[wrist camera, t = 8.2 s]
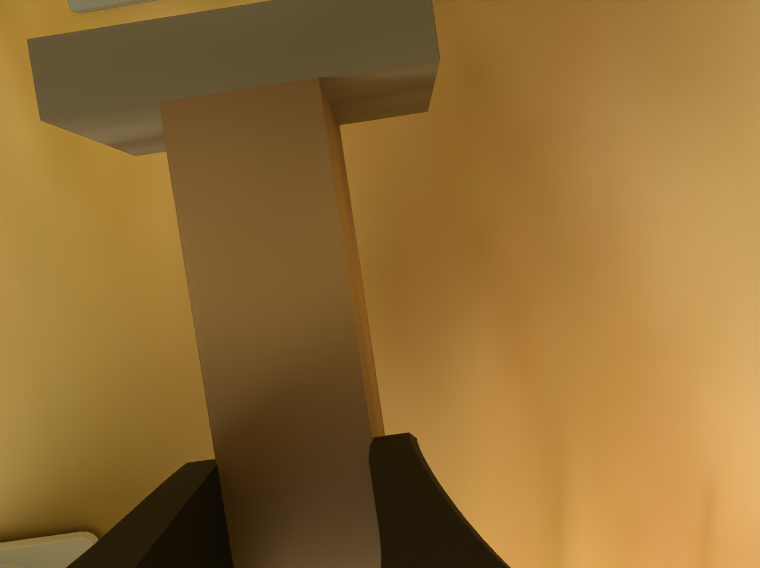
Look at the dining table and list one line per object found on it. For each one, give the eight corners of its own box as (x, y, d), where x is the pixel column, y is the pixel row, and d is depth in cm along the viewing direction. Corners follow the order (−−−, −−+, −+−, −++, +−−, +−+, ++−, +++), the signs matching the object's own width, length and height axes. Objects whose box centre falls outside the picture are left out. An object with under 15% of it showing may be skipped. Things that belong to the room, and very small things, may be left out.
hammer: (508, 685, 13) (549, 838, 10) (227, 720, 14) (168, 882, 10) (418, 51, 13) (428, -25, 9) (126, 97, 13) (27, 39, 9)
